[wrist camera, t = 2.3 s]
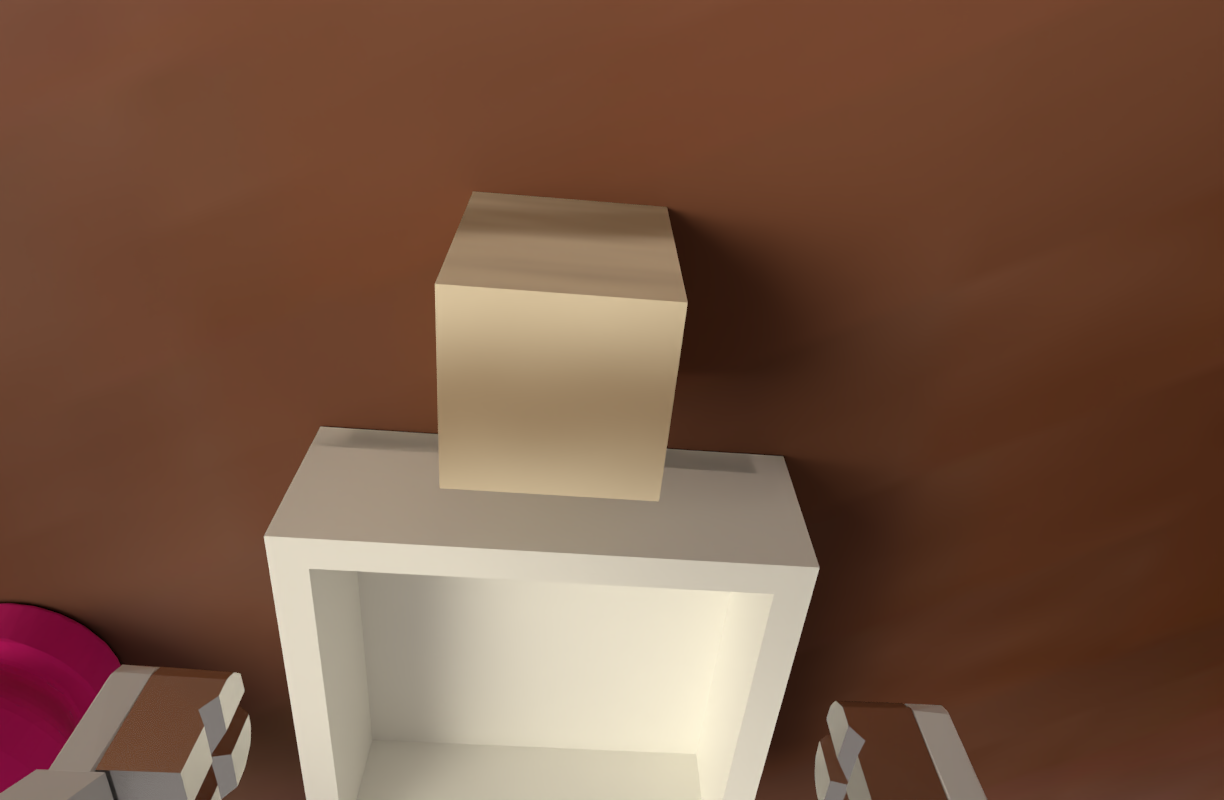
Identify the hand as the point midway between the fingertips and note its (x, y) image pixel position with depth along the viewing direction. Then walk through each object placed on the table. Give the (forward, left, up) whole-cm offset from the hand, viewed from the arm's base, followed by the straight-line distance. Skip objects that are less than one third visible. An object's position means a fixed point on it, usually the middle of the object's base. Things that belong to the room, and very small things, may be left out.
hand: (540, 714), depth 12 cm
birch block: (-1, 0, -14) cm, 14 cm away
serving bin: (+11, 0, -14) cm, 18 cm away
